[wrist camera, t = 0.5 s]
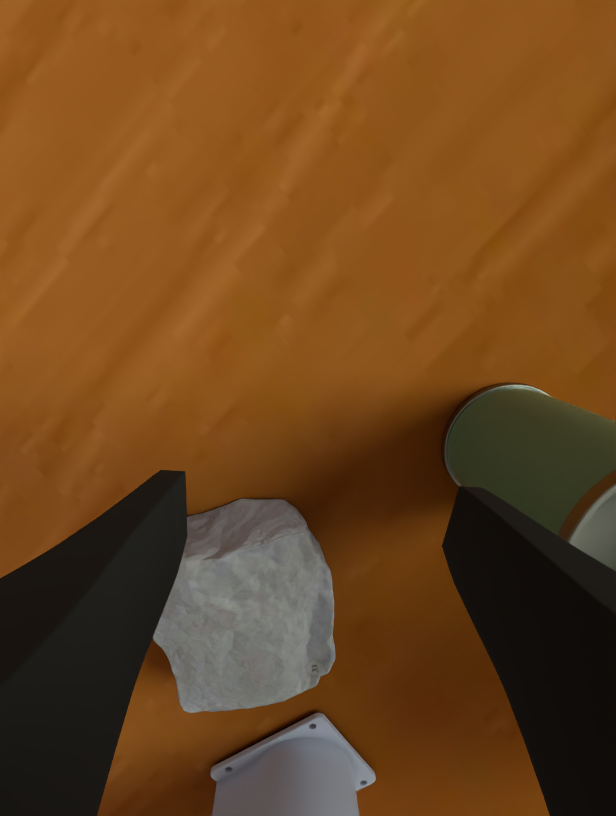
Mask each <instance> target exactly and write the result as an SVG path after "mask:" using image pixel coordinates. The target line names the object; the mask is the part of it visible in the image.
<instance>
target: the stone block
mask: <svg viewBox="0 0 616 816" xmlns="http://www.w3.org/2000/svg"><path fill="white" fill-rule="evenodd" d="M187 532H188V536H187V540H186V544H185V548H184V552H183V556H182V560H181V563H180V567H179V571H178V574H177V577H176V579H175V582H174V584H173V587H172V590H171V592H170V595H169V597H168V600H167V602H166V605H165V607H164V610H163V613H162V615H161V618H160V620H159V623H158V625H157V628H156V630H155V633H154V635H153V639H154V641H155V642H156V643H157V644H158V645H159V646H160V647H161V648H162V649H163V651H164V652H165V654H166V656H167V657H168V659H169V661H170V664H171V668H172V673H173V674H174V676H175V677H176V685H177V692H178V700H179V702H180V705H181V707H182V708H183V710H184V711H187V712H189V713H195V712H200V711H212V712H217V711H230V710H234V709H248V708H254V707H258V706H264V705H269V704H272V703H278V702H283V701H285V700H287V699H289V698H291V697H293V696H295V695H298V694H300V693H302V692H304V691H305V690H308V689H310V688H313V687H315V686H317V684H318V682H319V679H320V677H321V676H323V675H325V674H328V672H329V671H330V669H331V666H332V664H333V663H334V661H335V645H334V639H333V634H332V632H333V625H334V621H333V620H334V597H333V588H332V576H331V571H330V569H329V567H328V565H327V564H326V562H325V559H324V555H323V553H322V550H321V547H320V544H319V543H318V541H317V540H316V538H315V537H314V536H313V534H312V533H311V532H310V530H309V529H308V526H307V524H306V521H305V519H304V518H303V517H302V515H301V514H300V513H299V512H298V510H297V509H296V508H295V507H294V506H292V505H290V504H289V503H288V502H287V501H285V500H282V499H270V500H268V499H259V500H255V499H244V498H242V499H239V500H236V501H234V502H232V503H230V504H228V505H225V506H222V507H218V508H216V509H214V510H211V511H208V512H205V513H201V514H194V515H191V516H189V517H187Z"/></svg>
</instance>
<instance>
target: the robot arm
mask: <svg viewBox="0 0 616 816" xmlns="http://www.w3.org/2000/svg"><path fill="white" fill-rule="evenodd" d="M187 536H188V532H187V505H186V478H185V471H169V470H160V471H159V472H157V473H156V474H155V475H153V476H152V477H151V478H149V479H148V480H147V481H146V482H144V483H143V484H142V485H140V486H139V487H138V488H137V489H135V490H134V491H133V492H131V493H130V494H129V495H128V496H126V497H125V498H124V499H122V500H121V501H119V502H118V503H117V504H115V505H114V506H113V507H111V508H110V509H109V510H107V511H106V512H105V513H103V514H102V515H101V516H99V517H98V518H96V519H95V520H93V521H92V522H90V523H89V524H88V525H86V526H85V527H83V528H82V529H80V530H79V531H77V532H76V533H74V534H73V535H71V536H70V537H68V538H67V539H65V540H64V541H63V542H61V543H60V544H58V545H56V546H55V547H53V548H52V549H50V550H48V551H47V552H45V553H43V554H42V555H40V556H39V557H37V558H35V559H34V560H32V561H30V562H28V563H27V564H25V565H23V566H21V567H20V568H18V569H16V570H14V571H13V572H11V573H9V574H7V575H6V576H4V577H2V578H0V816H97V814H98V810H99V806H100V803H101V799H102V795H103V792H104V788H105V785H106V781H107V778H108V774H109V771H110V767H111V764H112V760H113V757H114V753H115V750H116V746H117V743H118V739H119V736H120V732H121V729H122V726H123V722H124V719H125V716H126V712H127V709H128V705H129V702H130V699H131V695H132V692H133V689H134V686H135V683H136V680H137V677H138V674H139V671H140V669H141V666H142V663H143V661H144V658H145V655H146V653H147V650H148V648H149V645H150V643H151V640H152V638H153V635H154V633H155V630H156V628H157V625H158V623H159V620H160V618H161V615H162V613H163V610H164V607H165V605H166V602H167V600H168V597H169V595H170V592H171V590H172V587H173V584H174V582H175V579H176V577H177V574H178V571H179V567H180V563H181V560H182V556H183V552H184V548H185V544H186V540H187ZM442 547H443V551H444V554H445V557H446V560H447V564H448V567H449V570H450V573H451V575H452V578H453V581H454V584H455V586H456V588H457V590H458V592H459V594H460V596H461V599H462V601H463V603H464V605H465V607H466V609H467V611H468V613H469V615H470V617H471V620H472V622H473V624H474V626H475V628H476V630H477V632H478V634H479V636H480V638H481V640H482V642H483V644H484V646H485V648H486V650H487V652H488V655H489V657H490V659H491V661H492V663H493V665H494V667H495V669H496V671H497V673H498V676H499V678H500V680H501V682H502V685H503V687H504V689H505V692H506V694H507V697H508V699H509V702H510V705H511V707H512V710H513V713H514V715H515V718H516V721H517V723H518V726H519V728H520V731H521V734H522V736H523V739H524V742H525V745H526V747H527V750H528V753H529V756H530V759H531V762H532V764H533V767H534V770H535V773H536V776H537V779H538V782H539V784H540V787H541V790H542V793H543V796H544V799H545V802H546V805H547V808H548V811H549V814H550V816H616V571H615V570H613V569H611V568H610V567H608V566H606V565H605V564H603V563H601V562H600V561H598V560H596V559H595V558H593V557H591V556H590V555H588V554H586V553H585V552H583V551H581V550H580V549H578V548H576V547H575V546H573V545H572V544H570V543H568V542H567V541H565V540H564V539H562V538H561V537H559V536H558V535H556V534H554V533H553V532H551V531H550V530H548V529H547V528H545V527H544V526H542V525H541V524H539V523H538V522H536V521H535V520H533V519H532V518H530V517H529V516H527V515H525V514H524V513H522V512H521V511H519V510H518V509H516V508H515V507H513V506H512V505H510V504H509V503H507V502H506V501H504V500H502V499H501V498H499V497H498V496H496V495H494V494H493V493H491V492H489V491H487V490H486V489H484V488H482V487H468V486H459V489H458V493H457V496H456V500H455V503H454V506H453V510H452V513H451V517H450V520H449V524H448V527H447V531H446V534H445V538H444V541H443V544H442ZM210 776H211V777H212V779H213V780H215V781H216V782H217V785H216V791H215V798H214V805H213V811H212V816H359V810H358V803H357V795H356V791H358V790H360V789H362V788H364V787H366V786H368V785H370V784H372V783H374V781H375V780H376V777H375V773H374V771H373V770H372V769H371V768H370V766H369V765H368V764H367V763H366V762H365V761H364V760H363V758H362V757H361V756H360V755H359V754H358V753H357V752H356V750H355V749H354V748H353V747H352V746H351V745H350V744H349V743H348V741H347V740H346V739H345V738H344V737H343V736H342V735H341V733H340V732H339V731H338V730H337V729H336V728H335V727H334V725H333V724H332V723H331V722H330V721H329V720H328V719H327V718H326V716H325V715H324V714H322V713H314V714H313V715H311V716H309V717H307V718H305V719H303V720H301V721H299V722H297V723H295V724H293V725H291V726H289V727H287V728H286V729H284V730H282V731H280V732H278V733H276V734H274V735H272V736H270V737H268V738H266V739H264V740H262V741H260V742H259V743H257V744H255V745H253V746H251V747H249V748H247V749H245V750H243V751H241V752H239V753H237V754H235V755H233V756H232V757H230V758H228V759H226V760H224V761H222V762H220V763H218V764H216V765H214V766H213V767H212V768H211V773H210Z"/></svg>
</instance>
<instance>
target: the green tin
mask: <svg viewBox="0 0 616 816" xmlns="http://www.w3.org/2000/svg"><path fill="white" fill-rule="evenodd" d="M442 458H443V463H444V466H445V468H446V470H447V472H448V474H449V476H450V477H451V479H452V480H453V481H454V482H455V483H456V484H457V485H458V486H468V487H482V488H484V489H486V490H487V491H489V492H491V493H493V494H494V495H496V496H498V497H499V498H501V499H502V500H504V501H506V502H507V503H509V504H510V505H512V506H513V507H515V508H516V509H518V510H519V511H521V512H522V513H524V514H525V515H527V516H529V517H530V518H532V519H533V520H535V521H536V522H538V523H539V524H541V525H542V526H544V527H545V528H547V529H548V530H550V531H551V532H553V533H554V534H556V535H558V536H559V537H561V538H562V539H564V540H565V541H567V542H568V543H570V544H572V545H573V546H575V547H576V548H578V549H580V550H581V551H583V552H585V553H586V554H588V555H590V556H591V557H593V558H595V559H596V560H598V561H600V562H601V563H603V564H605V565H606V566H608V567H610V568H611V569H613V570H615V571H616V421H614V420H611V419H609V418H606V417H603V416H601V415H598V414H595V413H593V412H590V411H588V410H585V409H582V408H580V407H577V406H574V405H572V404H569V403H567V402H564V401H561V400H559V399H556V398H553V397H551V396H549V395H548V394H547V393H545V392H544V391H542V390H540V389H537V388H535V387H532V386H529V385H526V384H521V383H501V384H497V385H493V386H490V387H487V388H484V389H482V390H480V391H478V392H476V393H475V394H473V395H472V396H470V397H469V398H468V399H466V400H465V401H464V402H463V403H462V404H461V405H460V406H459V407H458V408H457V409H456V411H455V412H454V413H453V415H452V416H451V418H450V420H449V422H448V424H447V426H446V428H445V431H444V435H443V439H442Z"/></svg>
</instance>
